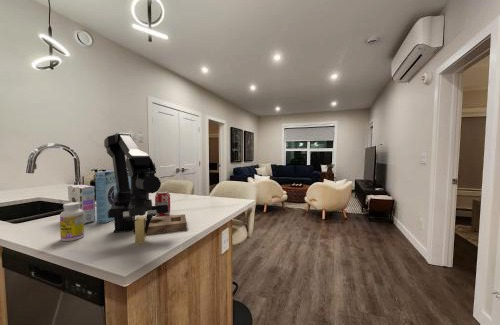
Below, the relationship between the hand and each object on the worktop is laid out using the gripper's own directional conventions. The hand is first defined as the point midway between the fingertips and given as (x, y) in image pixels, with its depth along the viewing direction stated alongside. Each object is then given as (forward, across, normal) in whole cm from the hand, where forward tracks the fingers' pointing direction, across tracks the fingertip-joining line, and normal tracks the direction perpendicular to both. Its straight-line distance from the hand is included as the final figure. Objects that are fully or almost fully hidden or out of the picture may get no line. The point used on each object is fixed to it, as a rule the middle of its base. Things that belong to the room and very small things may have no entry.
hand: (140, 233), depth 77 cm
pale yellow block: (+3, 0, 0) cm, 3 cm away
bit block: (+2, +8, +12) cm, 15 cm away
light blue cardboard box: (+3, -16, +37) cm, 40 cm away
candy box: (+3, -29, +35) cm, 46 cm away
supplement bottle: (+3, -24, +11) cm, 27 cm away
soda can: (+3, +6, +31) cm, 32 cm away
